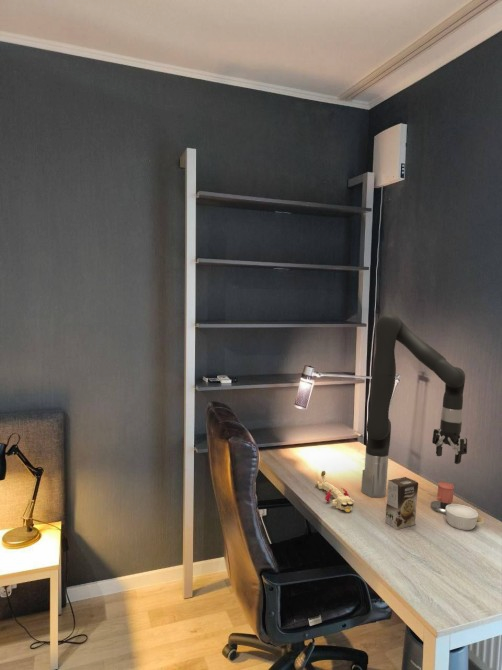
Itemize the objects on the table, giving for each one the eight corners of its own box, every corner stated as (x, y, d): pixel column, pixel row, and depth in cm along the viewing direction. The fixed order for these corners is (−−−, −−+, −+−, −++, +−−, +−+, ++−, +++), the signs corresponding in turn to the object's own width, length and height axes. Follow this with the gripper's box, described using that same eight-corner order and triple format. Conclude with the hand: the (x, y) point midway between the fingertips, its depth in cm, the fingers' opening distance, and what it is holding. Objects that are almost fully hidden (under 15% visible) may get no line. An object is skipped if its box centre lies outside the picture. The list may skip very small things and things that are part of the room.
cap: (443, 504, 178) (445, 489, 178) (431, 498, 183) (433, 483, 183) (457, 501, 182) (458, 486, 181) (445, 495, 187) (446, 480, 186)
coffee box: (397, 530, 165) (400, 486, 163) (384, 522, 170) (387, 479, 169) (416, 525, 169) (419, 482, 167) (402, 517, 175) (405, 475, 173)
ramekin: (460, 514, 178) (461, 501, 178) (484, 529, 168) (485, 515, 168) (437, 519, 174) (438, 505, 174) (460, 534, 164) (462, 519, 163)
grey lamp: (445, 516, 176) (447, 494, 175) (424, 505, 185) (426, 483, 184) (463, 512, 181) (465, 489, 180) (442, 501, 189) (444, 480, 189)
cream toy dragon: (310, 491, 198) (337, 513, 174) (311, 470, 198) (337, 490, 174) (332, 489, 201) (360, 511, 177) (332, 469, 201) (361, 488, 177)
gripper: (429, 415, 184) (426, 454, 185) (460, 425, 171) (456, 467, 173) (443, 413, 187) (440, 452, 189) (474, 423, 175) (470, 464, 176)
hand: (447, 459), depth 181 cm, fingers open, 8 cm apart
